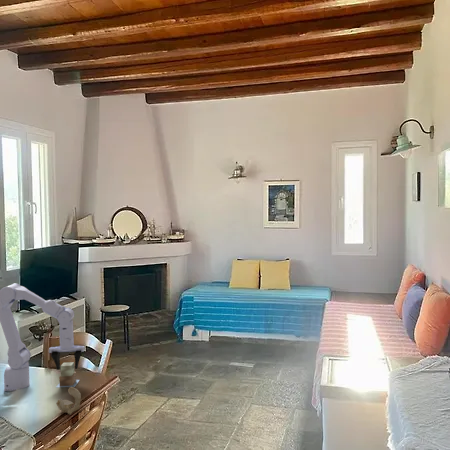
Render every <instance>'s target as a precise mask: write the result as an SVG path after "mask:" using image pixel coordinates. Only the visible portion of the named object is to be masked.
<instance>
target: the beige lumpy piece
mask: <svg viewBox="0 0 450 450" xmlns="http://www.w3.org/2000/svg"><path fill="white" fill-rule="evenodd" d="M67 391H68V394H69V395H70V396H73V398H74V401H75V403H74V402H72V401H71V400H68V399H64V400H62V398H59V399H58V400H57V402H56V406H57V407H58V409H59V410H60V411H61V413H67V414H68V415H69V416H71V415H72V414H73V412H76V411H78V410H80V407H81V405H80V404H81V399H82V398H81V397H82V393H81V392H80V391H79V390H78V388H75V387H68V389H67ZM72 405H73V406H72ZM71 406H72V407H71Z"/></svg>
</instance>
